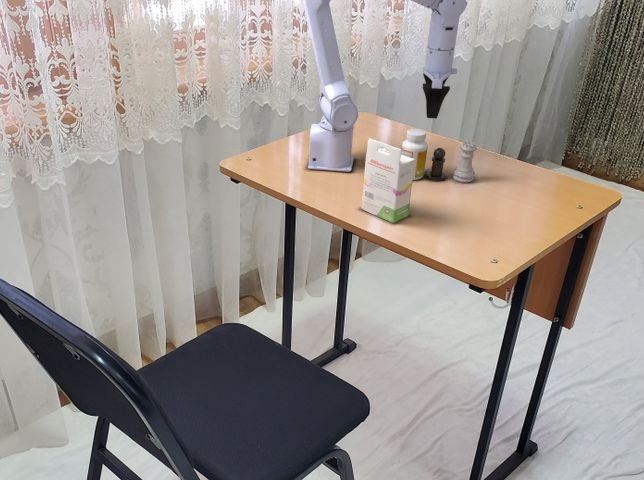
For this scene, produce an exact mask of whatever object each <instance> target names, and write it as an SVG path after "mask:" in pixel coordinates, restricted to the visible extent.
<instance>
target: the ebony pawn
mask: <svg viewBox="0 0 644 480" xmlns="http://www.w3.org/2000/svg"><path fill="white" fill-rule="evenodd" d="M432 155H433V156H432V157H431V162H432V163H431V167H430V168H431V169H430V170H429V171H428V172H426V179H428V180H429V181H433V182H442V181H444V180H445V179H446V173H445V172H444V165H445V164H444V163H445V162H446V150H445V149H444V148H442V147H436V149H434V151H433V154H432Z"/></svg>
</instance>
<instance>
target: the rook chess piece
mask: <svg viewBox="0 0 644 480" xmlns="http://www.w3.org/2000/svg"><path fill="white" fill-rule="evenodd" d="M460 150H461V153H460V159H459V162H458V165H457V166H456V168H455V169H454V171H453V175H452V178H453V180H454V181H455V182H458V183H462V184H469V183H471V182H472V181H474V179H475V177H474V176H475V171H474V168H473V158H474V156H475V153H474V152H475V151H476V150H477V146H476V143H475V142H474V141H471V143H470V140H467V141H466V140H465V141H463V142H462V144H461V145H460Z"/></svg>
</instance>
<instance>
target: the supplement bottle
mask: <svg viewBox="0 0 644 480" xmlns="http://www.w3.org/2000/svg"><path fill="white" fill-rule="evenodd" d="M405 137H406V139H405V140H403V142H402V143H401V155H404V156H407V157H410V158H413V159H415V165H414V173H413V181H416V180H420V179H422V178H424V176H425V169H426V163H427V155H428V147H429V145H428V142H427V141H426V139H427V131H426V130H424V129H421V128H410V129H407V131H406V135H405Z"/></svg>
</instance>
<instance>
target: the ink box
mask: <svg viewBox="0 0 644 480" xmlns="http://www.w3.org/2000/svg"><path fill="white" fill-rule="evenodd" d="M366 146H367V148H366V154H365V165H364V174H363V175H364V176H363V177H364V178H363V184H362V185H363V186H362V200H361V210H363V211H365V212H367V213H369V214H371V215H373V216H376V217H378V218H381V219H383V220H385V221H388V222H390V223H392V224H395V223H397V222H398V221H400V220H403V219H405V218H406V217H408V216H409V213H410V205H411V197H412V189H413V181H414V180H413V173H414V165H415V159H413V158H410V157H407V156H404V155H401V150H402V148H398V147H395V146H392V145H391V144H388V143H385V142H381V141H379V140H376V139H373V138H370V137H369V138H368V140H367V145H366Z"/></svg>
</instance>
